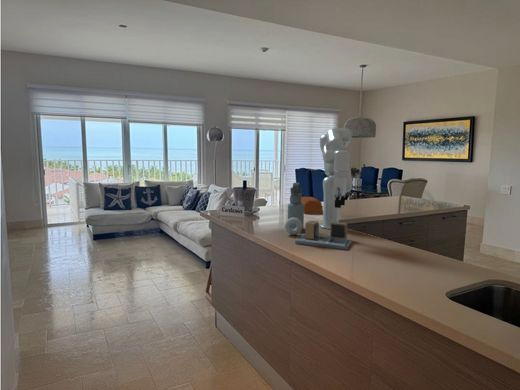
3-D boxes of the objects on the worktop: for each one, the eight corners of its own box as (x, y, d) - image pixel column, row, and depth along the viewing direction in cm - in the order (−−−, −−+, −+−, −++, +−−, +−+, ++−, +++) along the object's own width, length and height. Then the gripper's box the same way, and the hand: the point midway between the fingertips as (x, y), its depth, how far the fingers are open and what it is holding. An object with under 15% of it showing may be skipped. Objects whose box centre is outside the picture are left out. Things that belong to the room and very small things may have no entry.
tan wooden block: (345, 241, 185) (345, 224, 184) (330, 239, 188) (330, 223, 187) (346, 239, 189) (347, 222, 188) (332, 237, 193) (332, 221, 191)
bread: (303, 214, 263) (303, 200, 261) (296, 208, 289) (297, 195, 288) (323, 214, 264) (324, 200, 263) (315, 208, 290) (315, 195, 289)
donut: (284, 235, 196) (285, 218, 194) (284, 234, 199) (284, 216, 198) (302, 235, 196) (303, 218, 195) (301, 234, 199) (302, 217, 198)
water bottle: (302, 231, 207) (303, 184, 203) (286, 230, 209) (287, 183, 205) (304, 227, 217) (305, 182, 213) (288, 226, 219) (289, 182, 215)
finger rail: (302, 238, 190) (303, 219, 189) (351, 243, 180) (352, 223, 178) (295, 243, 179) (295, 223, 178) (346, 249, 168) (347, 228, 167)
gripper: (337, 173, 194) (336, 203, 196) (329, 174, 178) (328, 208, 180) (351, 173, 190) (349, 204, 193) (344, 175, 175) (343, 209, 177)
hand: (339, 206), depth 186 cm, fingers open, 9 cm apart
